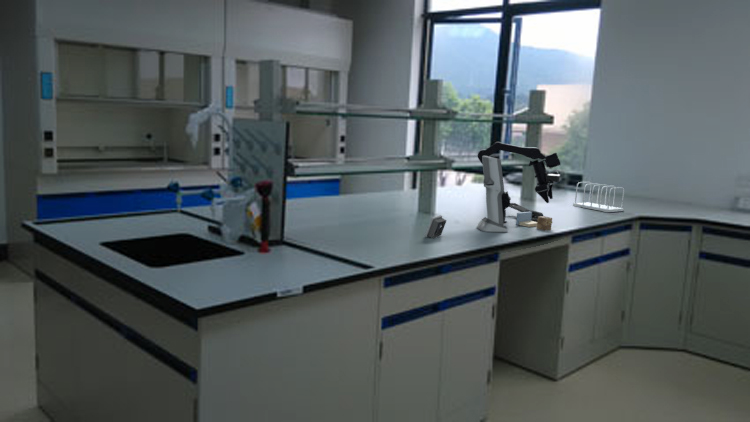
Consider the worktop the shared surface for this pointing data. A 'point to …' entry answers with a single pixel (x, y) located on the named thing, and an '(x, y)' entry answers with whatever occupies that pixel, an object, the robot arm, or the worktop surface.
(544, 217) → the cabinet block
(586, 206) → the file sorter
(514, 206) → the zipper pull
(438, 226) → the electrical switch
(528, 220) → the blue and beige sponge
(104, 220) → the worktop surface
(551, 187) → the robot arm
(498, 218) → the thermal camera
